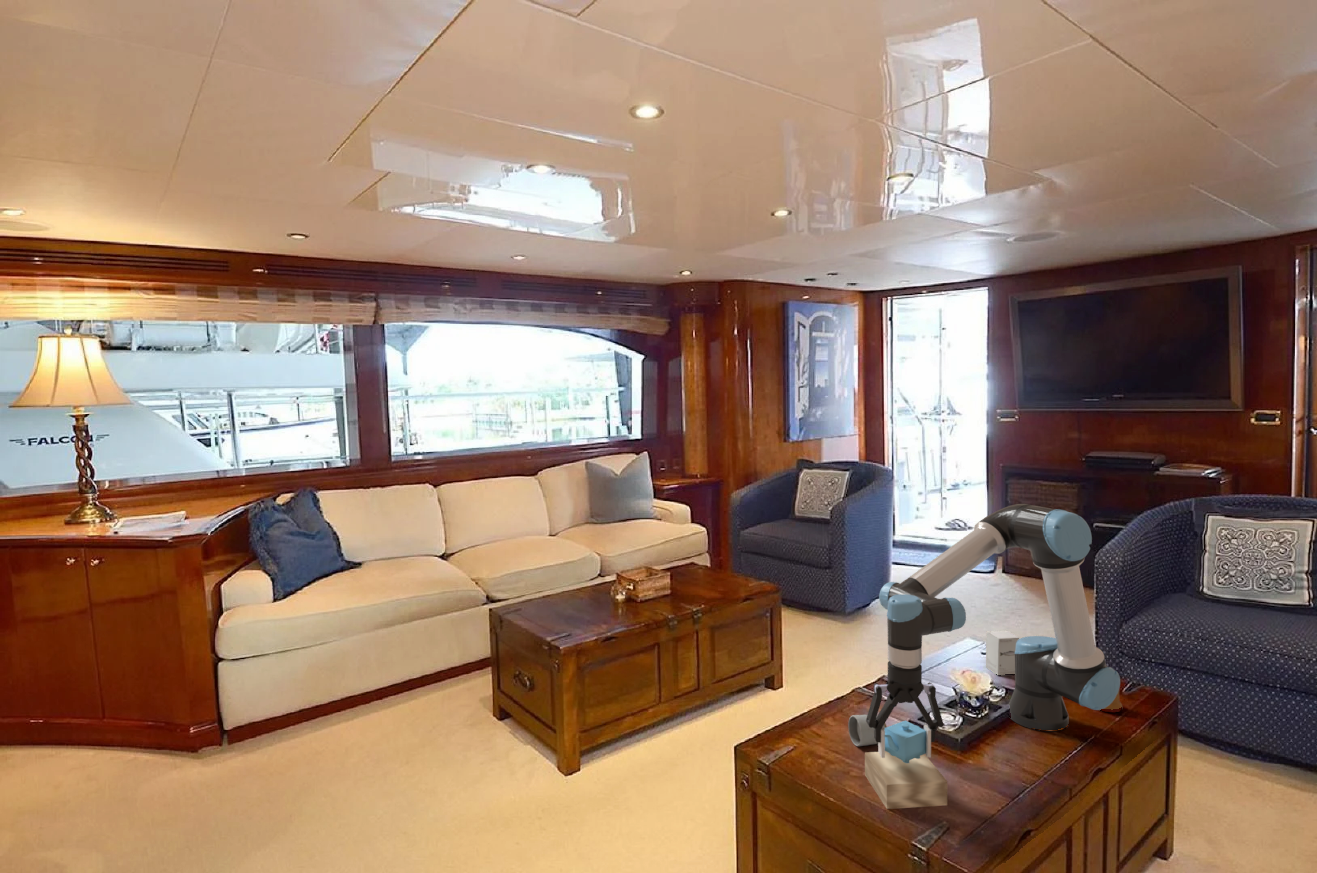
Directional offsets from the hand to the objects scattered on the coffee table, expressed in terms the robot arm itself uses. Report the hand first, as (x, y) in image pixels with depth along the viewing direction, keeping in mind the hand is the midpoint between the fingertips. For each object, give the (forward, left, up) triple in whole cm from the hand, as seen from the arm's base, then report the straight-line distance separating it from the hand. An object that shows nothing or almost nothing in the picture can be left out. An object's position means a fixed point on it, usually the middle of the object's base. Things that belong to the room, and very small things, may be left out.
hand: (904, 754), depth 165 cm
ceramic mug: (+3, -23, -9) cm, 25 cm away
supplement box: (-53, -67, -9) cm, 86 cm away
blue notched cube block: (0, 0, -1) cm, 1 cm away
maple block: (0, 0, -9) cm, 9 cm away
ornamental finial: (-71, -40, -9) cm, 82 cm away
